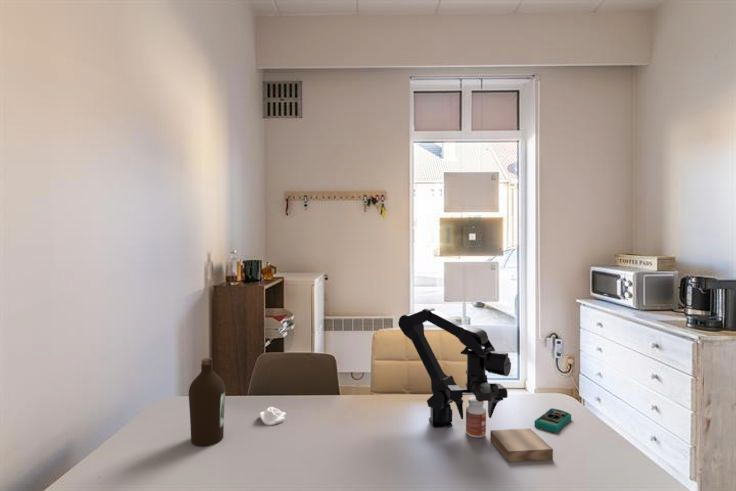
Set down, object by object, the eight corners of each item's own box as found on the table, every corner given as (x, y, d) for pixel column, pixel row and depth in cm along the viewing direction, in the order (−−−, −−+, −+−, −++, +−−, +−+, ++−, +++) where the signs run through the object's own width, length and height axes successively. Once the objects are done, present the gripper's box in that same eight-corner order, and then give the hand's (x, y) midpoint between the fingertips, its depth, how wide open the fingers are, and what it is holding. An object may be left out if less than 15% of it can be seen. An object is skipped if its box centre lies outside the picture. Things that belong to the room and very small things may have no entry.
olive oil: (188, 450, 125) (187, 365, 125) (189, 434, 135) (189, 356, 135) (226, 444, 129) (225, 362, 128) (225, 429, 139) (224, 353, 138)
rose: (251, 409, 145) (270, 399, 153) (251, 422, 145) (270, 412, 154) (274, 415, 140) (292, 405, 149) (274, 428, 140) (292, 417, 149)
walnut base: (508, 462, 119) (508, 451, 119) (490, 440, 132) (490, 430, 132) (552, 459, 120) (552, 449, 120) (530, 437, 133) (530, 428, 133)
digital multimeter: (572, 420, 147) (572, 412, 147) (556, 435, 136) (556, 426, 136) (550, 414, 152) (550, 406, 152) (533, 428, 141) (533, 419, 141)
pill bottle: (485, 439, 132) (485, 404, 132) (465, 436, 134) (465, 401, 134) (486, 431, 138) (486, 397, 138) (466, 428, 140) (466, 394, 140)
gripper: (455, 379, 127) (455, 431, 127) (515, 376, 129) (515, 428, 129) (444, 367, 138) (444, 415, 138) (500, 365, 140) (499, 413, 140)
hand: (475, 418), depth 136 cm, fingers open, 9 cm apart
